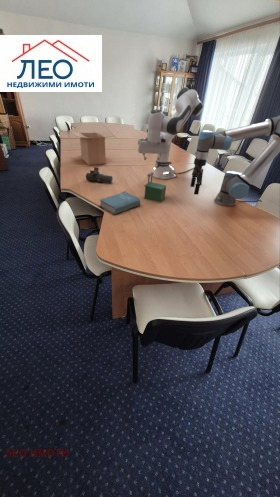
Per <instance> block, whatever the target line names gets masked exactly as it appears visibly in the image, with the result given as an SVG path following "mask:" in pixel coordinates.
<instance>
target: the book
mask: <svg viewBox="0 0 280 497" xmlns="http://www.w3.org/2000/svg"><path fill="white" fill-rule="evenodd" d="M99 201H100V205H99V207H101V208H103V209H104V210H105V211H107V212H109V213H111V214H113V215H116V214H119V213H122V212H124V211H128V210H130V209H132V208H133V209H134V208H135V207H138V206H140V205H141V198H139V197H137V196H135V195H133V194H131V193H128V192H126V191H122V192H119V193H116V194H113V195H110V196H106V197H104V198H100V199H99Z"/></svg>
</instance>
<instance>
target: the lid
mask: <svg viewBox="0 0 280 497" xmlns="http://www.w3.org/2000/svg"><path fill="white" fill-rule="evenodd" d="M153 174H154V171H151V172H149V173H148V174H147V177H148V178H147V182H146V184H144V185H143V187H144V188H145V187H149V188H153V189H157V190H163V189H164V188H165V187H166V188H167V184H162V183H157V182H153Z"/></svg>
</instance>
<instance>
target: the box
mask: <svg viewBox="0 0 280 497" xmlns="http://www.w3.org/2000/svg"><path fill="white" fill-rule="evenodd" d="M70 133H71V134H72V135H74V136H75V137H77V138H79V144H80V153H81V160H83V162H85V163H86V165H87V166H95V165H97V166H98V165H106V163H107V162H106V158H107V157H106V138H113V137H114V136H113V135H111V134H109V133H108V132H105V131H98V132H96V131H95V130H92V129H91V130H77V132H76V131H70Z"/></svg>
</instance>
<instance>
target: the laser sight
mask: <svg viewBox="0 0 280 497" xmlns="http://www.w3.org/2000/svg"><path fill="white" fill-rule="evenodd" d="M85 179H86V180H87V181H90V182H97V183H107V184H108V183H109V184H112V183H113V175H106V174H104V173H100V171H99V167H95V166H94V167H93V170H91V169H90V170H89V172H86V174H85Z"/></svg>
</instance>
